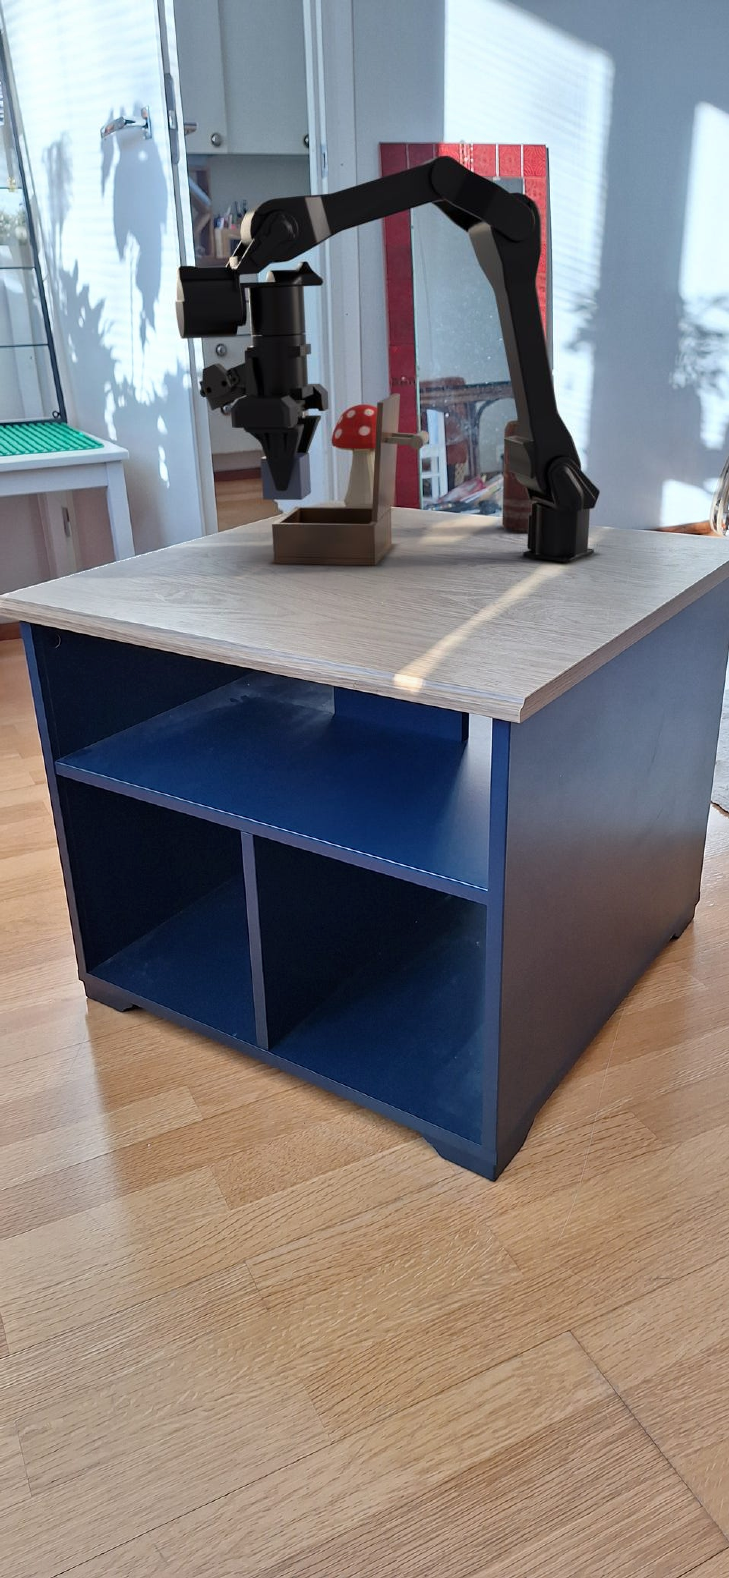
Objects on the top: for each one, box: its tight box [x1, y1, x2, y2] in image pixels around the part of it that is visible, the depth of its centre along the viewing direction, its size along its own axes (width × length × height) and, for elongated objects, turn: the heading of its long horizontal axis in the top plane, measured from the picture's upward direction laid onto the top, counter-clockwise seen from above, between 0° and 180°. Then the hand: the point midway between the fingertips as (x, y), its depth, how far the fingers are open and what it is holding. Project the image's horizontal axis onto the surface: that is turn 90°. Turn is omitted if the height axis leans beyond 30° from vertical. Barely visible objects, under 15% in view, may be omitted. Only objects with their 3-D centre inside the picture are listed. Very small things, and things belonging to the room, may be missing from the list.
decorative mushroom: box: [331, 403, 377, 507], centre depth 164 cm, size 10×9×15 cm
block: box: [260, 452, 312, 501], centre depth 123 cm, size 4×4×4 cm
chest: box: [271, 506, 393, 566], centre depth 139 cm, size 13×12×5 cm
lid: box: [372, 392, 430, 522], centre depth 134 cm, size 13×12×5 cm
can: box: [501, 419, 536, 534], centre depth 148 cm, size 6×6×14 cm
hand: (287, 487), depth 123 cm, fingers closed on block, 4 cm apart
